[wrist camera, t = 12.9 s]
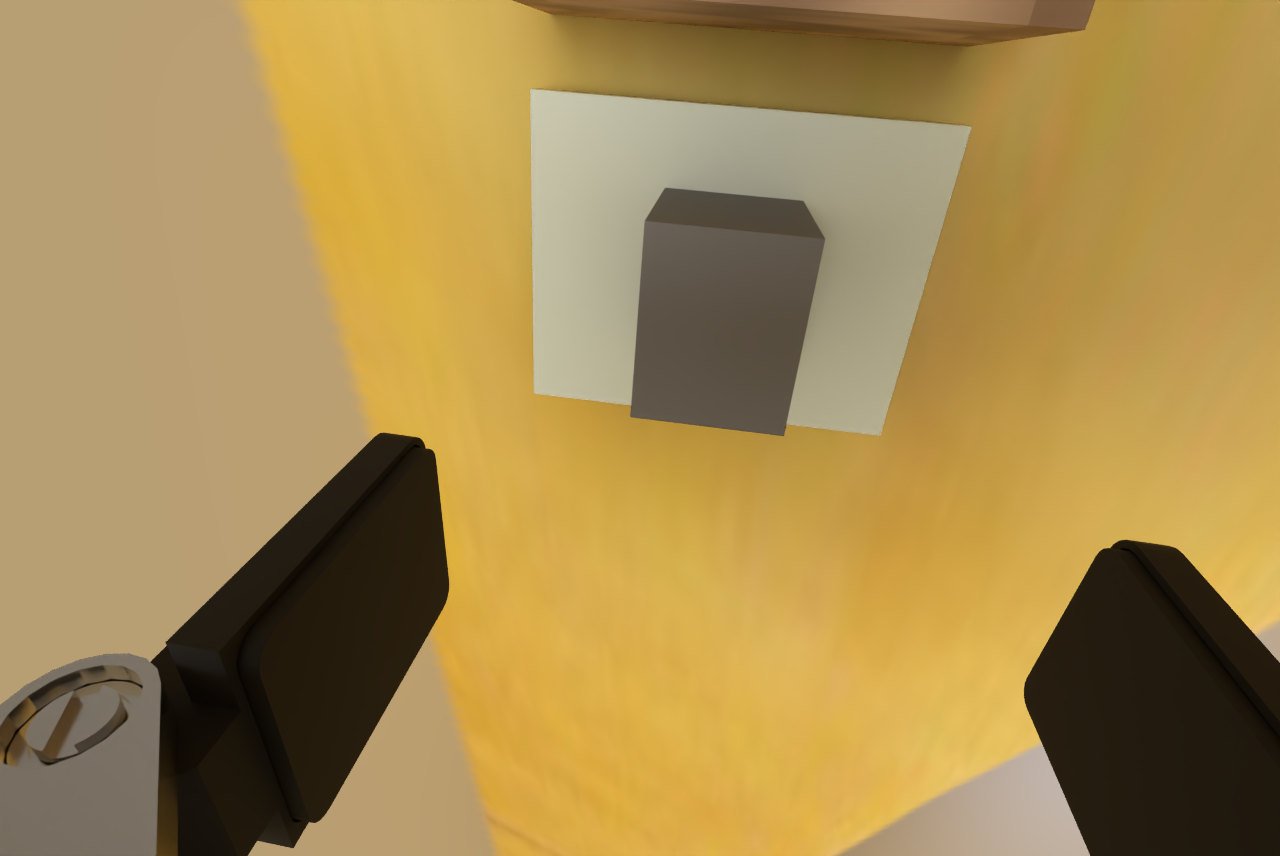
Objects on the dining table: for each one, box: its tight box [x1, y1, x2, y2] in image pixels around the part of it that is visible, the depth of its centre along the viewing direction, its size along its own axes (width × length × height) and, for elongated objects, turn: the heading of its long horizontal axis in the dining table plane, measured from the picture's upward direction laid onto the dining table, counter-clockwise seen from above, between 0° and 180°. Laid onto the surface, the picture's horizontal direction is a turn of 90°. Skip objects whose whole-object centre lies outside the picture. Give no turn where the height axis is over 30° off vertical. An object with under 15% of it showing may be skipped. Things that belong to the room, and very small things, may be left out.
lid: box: [530, 89, 972, 436], centre depth 22 cm, size 14×11×8 cm
